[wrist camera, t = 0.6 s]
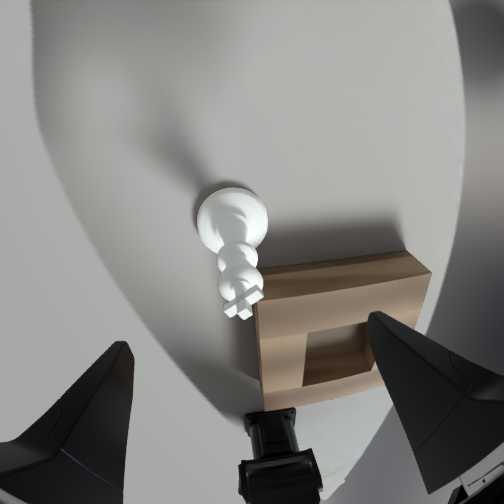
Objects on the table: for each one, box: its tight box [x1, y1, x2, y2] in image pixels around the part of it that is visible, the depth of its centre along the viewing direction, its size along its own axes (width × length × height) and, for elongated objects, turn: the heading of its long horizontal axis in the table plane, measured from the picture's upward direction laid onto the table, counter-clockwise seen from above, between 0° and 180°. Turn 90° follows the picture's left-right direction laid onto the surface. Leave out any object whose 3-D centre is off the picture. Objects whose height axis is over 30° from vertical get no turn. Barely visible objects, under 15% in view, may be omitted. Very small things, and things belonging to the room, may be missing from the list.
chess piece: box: [197, 187, 268, 320], centre depth 15 cm, size 5×5×10 cm
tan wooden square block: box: [253, 250, 432, 411], centre depth 23 cm, size 14×14×4 cm
